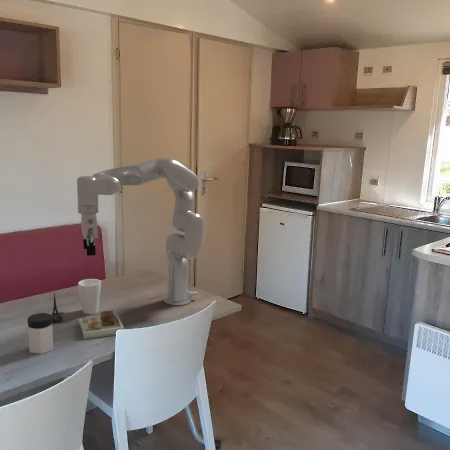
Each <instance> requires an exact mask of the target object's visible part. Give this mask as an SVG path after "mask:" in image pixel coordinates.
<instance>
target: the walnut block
mask: <svg viewBox="0 0 450 450" xmlns="http://www.w3.org/2000/svg"><path fill="white" fill-rule="evenodd" d="M114 314H115V313H114V310H104V311H101V312H100V316H101V322H102V325H103V327H104V326H112V325H114Z"/></svg>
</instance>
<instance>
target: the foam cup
mask: <svg viewBox="0 0 450 450" xmlns="http://www.w3.org/2000/svg"><path fill="white" fill-rule="evenodd" d="M77 283H78V285H77V288H78V289H77V290H78V291H79V297H80V303H81V308H82V313H83V314H85V315H93V314H97V313H98V312H99V308H100V298H101V288H102V280H100V279H98V278H97V279H96V278H87V279H86V278H85V279H81V280H80V281H78V282H77Z"/></svg>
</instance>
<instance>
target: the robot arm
mask: <svg viewBox="0 0 450 450" xmlns="http://www.w3.org/2000/svg"><path fill="white" fill-rule="evenodd" d="M159 179H164V180H166V182H167V184H168V187H170V188H171V190H172V192H173V193H174V197H175V198H174V199H175V200H174V209H173V214H172V222H171V223H172V224H171V225H172V228H174V229H175V230H176V231H179V232H182V233H184V234H182V233H176V232H175V233H171V234H170V235H168V236H167V238H166V240H165V245H164V246H165V253H166V257H167V258H166V262H167V263H166V265H167V269H166V271H167V275H166V276H167V278H166V280H167V283H166V285H167V286H166V288H167V289H166V291H167V292H166V295H165V296H164V297H163V302H164V303H165V304H167V305H169V306H184V305H188V304H190V303H191V302H192V297H193V296H194V297H196V296H199V292H198V291H194V290H189V260H194V259H195V258H197V257H198V256H199V253H200V251H201V247H202V242H203V237H204V230H205V221H204V219H203V217H202V215H201V214H199V213H196V212H194V208H195V195H194V191H196V190H197V189H198V188H199V184H200V179H199V177H198V175H197V174H196V173H195V172H194V171H192V170H191V169H189V168H188V167H186V166H185V165H183V164H182V163H180V162H179V161H177V160H175V159H173V158H165V157H157V158H155V157H154V158H152V159H149V160H145V161H142V162H139V163H135V164H129V165H126V166H119V167H113V168H109V169H106V170H103V171H99V172H96V173H93V174H92V175H82V176H81V175H80V176H79V177H77V179H76V190H77V192H76V193H77V213H78V214H80V219H81V233H82V237H83V241H82V243H83V247H82V248H83V250H86V257H90V256H96V253H97V252H96V242H95V239H96V240H97V239H98V238H99V234H98V219H97V214H98V213H99V195H100V196H101V195H102V196H103V195H104V196H113V195H115V194H117V193H118V192H119V191H120V187H121V186H133V187H134V186H141V185H144V184H147V183H150V182H153V181H156V180H159Z"/></svg>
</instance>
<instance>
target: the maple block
mask: <svg viewBox="0 0 450 450" xmlns="http://www.w3.org/2000/svg"><path fill="white" fill-rule="evenodd" d="M93 317H94V318H88V317H86V318H87V326H88V331H95V330H101V320H100V318H99V317H96V316H93Z"/></svg>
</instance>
